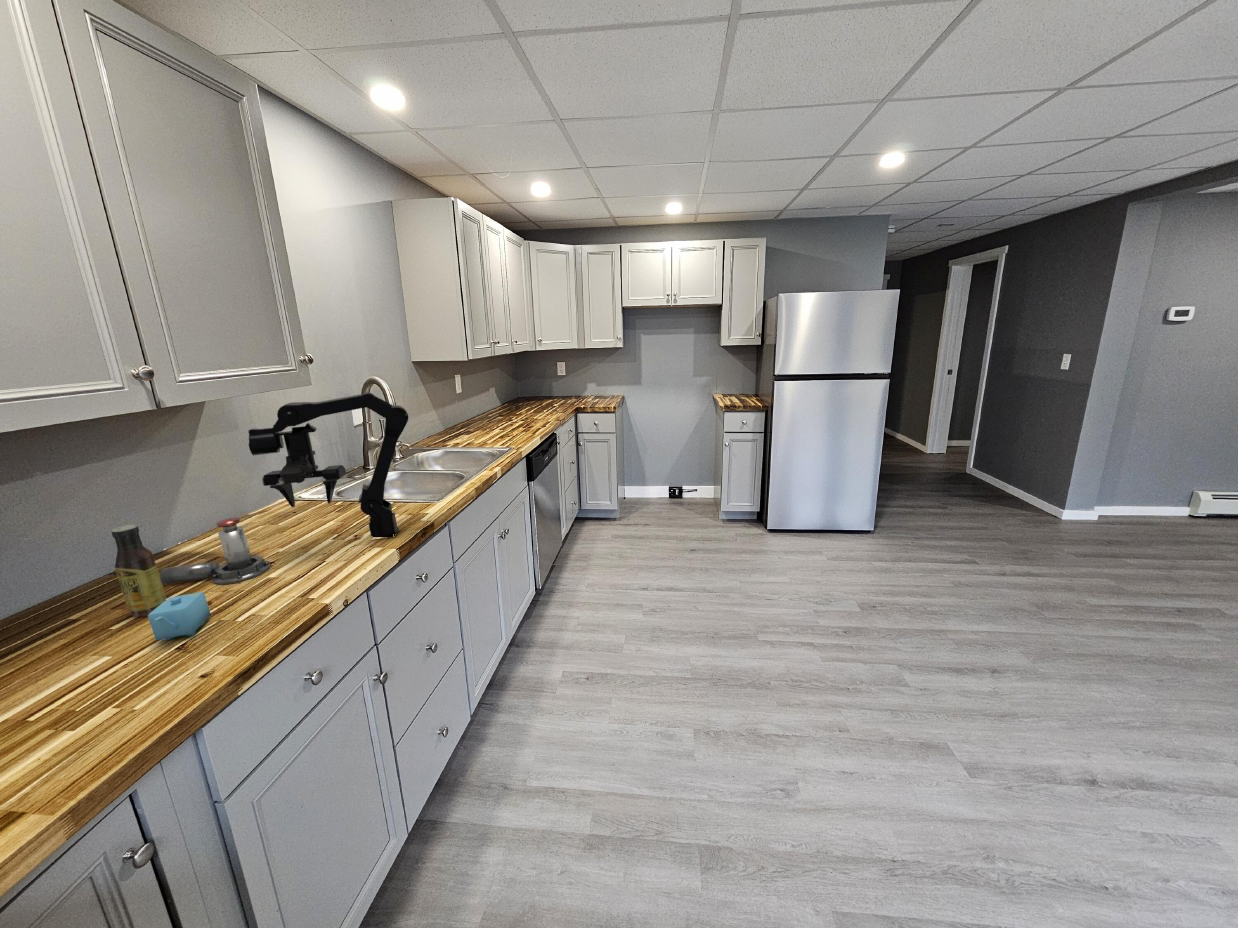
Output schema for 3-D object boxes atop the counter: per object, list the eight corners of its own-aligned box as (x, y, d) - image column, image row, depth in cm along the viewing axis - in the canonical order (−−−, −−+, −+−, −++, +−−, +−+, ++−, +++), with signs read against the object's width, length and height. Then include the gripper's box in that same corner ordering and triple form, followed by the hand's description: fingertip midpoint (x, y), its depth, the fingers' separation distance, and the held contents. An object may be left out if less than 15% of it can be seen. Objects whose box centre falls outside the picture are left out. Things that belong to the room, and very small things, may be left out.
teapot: (184, 647, 93) (173, 612, 91) (146, 654, 92) (134, 619, 90) (215, 615, 104) (206, 583, 102) (182, 621, 103) (171, 589, 101)
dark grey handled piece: (279, 560, 131) (275, 546, 130) (256, 580, 119) (252, 565, 118) (183, 572, 127) (179, 558, 126) (150, 594, 115) (145, 579, 114)
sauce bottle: (123, 616, 106) (93, 532, 101) (157, 602, 112) (130, 521, 107) (143, 620, 104) (113, 534, 99) (176, 604, 110) (149, 523, 105)
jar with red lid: (253, 564, 127) (240, 515, 124) (254, 570, 123) (240, 520, 120) (230, 570, 125) (215, 521, 121) (229, 576, 121) (214, 526, 117)
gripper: (244, 459, 121) (259, 518, 125) (325, 453, 124) (337, 510, 128) (267, 450, 131) (279, 505, 135) (341, 444, 135) (351, 498, 138)
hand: (311, 505), depth 134 cm, fingers open, 9 cm apart
